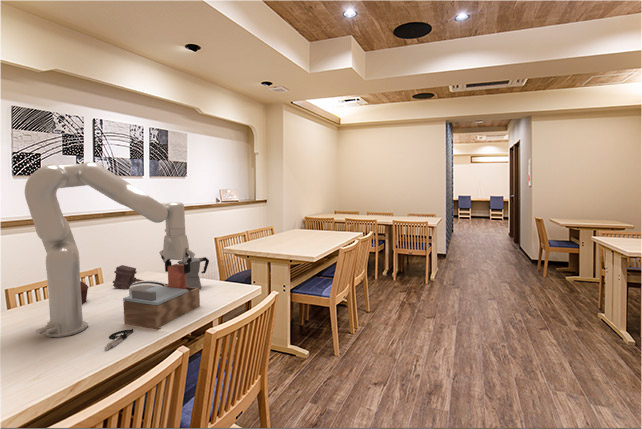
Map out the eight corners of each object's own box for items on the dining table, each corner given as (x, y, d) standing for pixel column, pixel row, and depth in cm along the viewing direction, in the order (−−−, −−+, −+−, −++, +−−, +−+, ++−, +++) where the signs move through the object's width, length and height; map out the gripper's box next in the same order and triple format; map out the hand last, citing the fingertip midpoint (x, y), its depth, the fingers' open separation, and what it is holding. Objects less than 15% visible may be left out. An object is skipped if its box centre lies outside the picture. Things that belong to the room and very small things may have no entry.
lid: (157, 305, 130) (156, 294, 129) (123, 300, 135) (122, 290, 134) (188, 291, 146) (188, 282, 145) (157, 288, 151) (156, 278, 150)
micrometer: (117, 332, 130) (116, 325, 130) (136, 332, 129) (135, 325, 129) (88, 351, 115) (87, 344, 115) (109, 352, 114) (109, 344, 114)
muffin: (94, 302, 160) (92, 280, 159) (65, 309, 151) (64, 286, 150) (82, 297, 167) (80, 276, 166) (54, 304, 158) (52, 282, 157)
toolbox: (158, 330, 130) (157, 306, 130) (124, 324, 136) (123, 301, 135) (199, 308, 153) (199, 287, 152) (169, 304, 158) (169, 284, 157)
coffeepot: (179, 293, 174) (178, 257, 172) (176, 288, 182) (175, 253, 180) (211, 288, 182) (211, 253, 180) (207, 284, 190) (206, 250, 188)
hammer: (120, 282, 187) (122, 264, 186) (179, 296, 185) (182, 278, 184) (111, 286, 180) (114, 267, 179) (172, 300, 178) (175, 281, 177)
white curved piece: (170, 295, 170) (167, 278, 166) (167, 301, 166) (163, 284, 162) (134, 296, 169) (129, 278, 165) (129, 302, 165) (125, 285, 160)
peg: (178, 309, 149) (177, 267, 147) (169, 308, 150) (167, 266, 149) (186, 305, 153) (185, 264, 152) (177, 304, 155) (176, 263, 153)
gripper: (152, 232, 148) (154, 272, 150) (186, 234, 143) (188, 275, 144) (165, 230, 155) (167, 268, 157) (198, 231, 150) (200, 271, 151)
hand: (177, 272), depth 151 cm, fingers open, 9 cm apart
